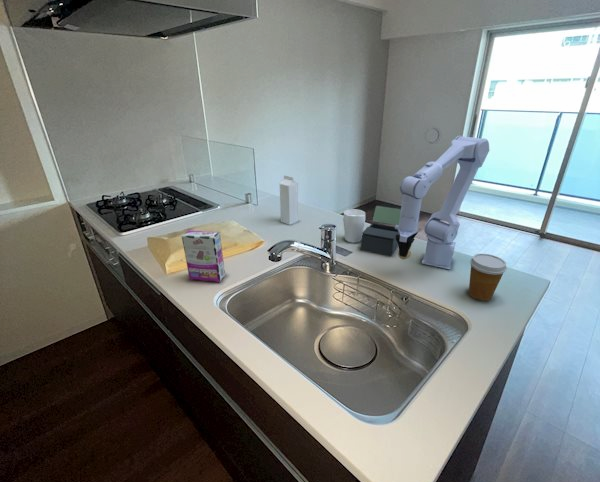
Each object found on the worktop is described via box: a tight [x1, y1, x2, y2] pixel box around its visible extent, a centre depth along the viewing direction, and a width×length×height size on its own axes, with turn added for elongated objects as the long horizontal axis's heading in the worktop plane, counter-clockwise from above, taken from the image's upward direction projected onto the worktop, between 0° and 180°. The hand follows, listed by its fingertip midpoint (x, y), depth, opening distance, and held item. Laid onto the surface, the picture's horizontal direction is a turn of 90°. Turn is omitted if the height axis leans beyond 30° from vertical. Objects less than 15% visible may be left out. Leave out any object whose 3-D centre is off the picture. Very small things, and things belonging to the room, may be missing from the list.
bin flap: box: [372, 205, 401, 226], centre depth 133 cm, size 7×12×1 cm
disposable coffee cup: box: [468, 253, 508, 302], centre depth 96 cm, size 10×10×12 cm
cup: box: [342, 208, 367, 244], centre depth 133 cm, size 9×9×12 cm
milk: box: [279, 175, 299, 226], centre depth 150 cm, size 6×6×22 cm
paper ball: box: [397, 249, 411, 260], centre depth 107 cm, size 4×4×4 cm
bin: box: [360, 222, 400, 257], centre depth 128 cm, size 14×12×7 cm
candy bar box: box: [181, 229, 226, 283], centre depth 106 cm, size 11×5×16 cm, turn 80°
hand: (404, 253), depth 107 cm, fingers closed on paper ball, 4 cm apart
